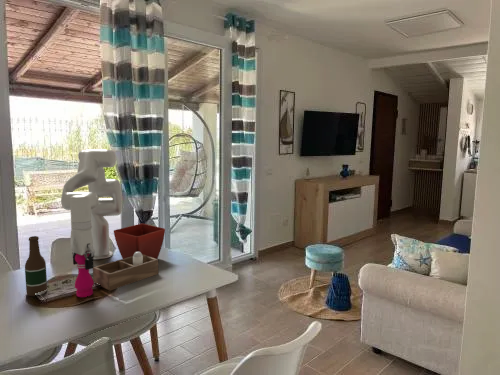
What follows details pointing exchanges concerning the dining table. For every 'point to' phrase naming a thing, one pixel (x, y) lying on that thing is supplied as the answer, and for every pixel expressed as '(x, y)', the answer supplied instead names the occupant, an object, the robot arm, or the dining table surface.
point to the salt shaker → (137, 258)
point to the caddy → (124, 272)
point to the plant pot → (139, 240)
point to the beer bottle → (35, 269)
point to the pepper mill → (83, 278)
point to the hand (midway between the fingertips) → (83, 266)
